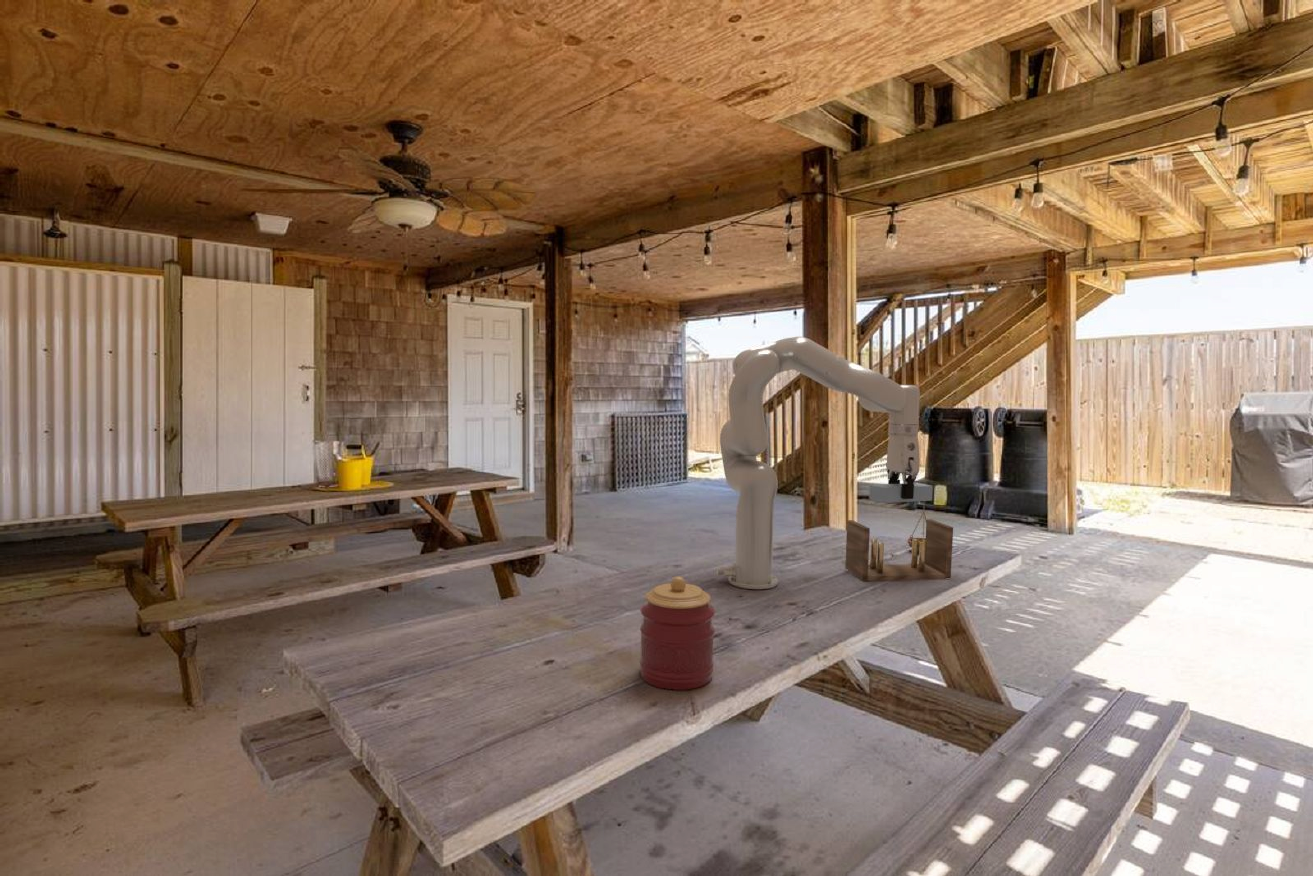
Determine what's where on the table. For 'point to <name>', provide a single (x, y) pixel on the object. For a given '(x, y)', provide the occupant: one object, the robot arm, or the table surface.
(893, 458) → the robot arm
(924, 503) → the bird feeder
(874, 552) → the shelf pegs
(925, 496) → the shelf board
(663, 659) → the canister
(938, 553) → the shelf frame
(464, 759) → the table surface
